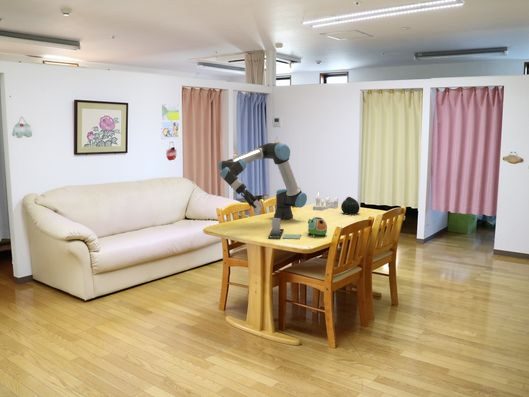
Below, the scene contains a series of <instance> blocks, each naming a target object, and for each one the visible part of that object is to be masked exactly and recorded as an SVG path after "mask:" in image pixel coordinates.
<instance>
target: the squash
mask: <svg viewBox="0 0 529 397" xmlns="http://www.w3.org/2000/svg"><path fill="white" fill-rule="evenodd" d="M340 209H341V211H342V213H343V214H345V215H357V214H359V212H360V203H359V202H358V201H357V200H356V199H355V198H353V197H351V196H347V197H346V198H345V199H344V200H343V201H342V202H341V205H340Z"/></svg>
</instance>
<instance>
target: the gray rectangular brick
mask: <svg viewBox="0 0 529 397" xmlns="http://www.w3.org/2000/svg"><path fill="white" fill-rule="evenodd" d="M271 221H272V222H271V230H272V234H280V232H281V231H280V229H281V219H280V218H274V217H272V220H271Z"/></svg>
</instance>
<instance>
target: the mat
mask: <svg viewBox="0 0 529 397" xmlns="http://www.w3.org/2000/svg"><path fill="white" fill-rule="evenodd" d="M301 236H302V235H301V234H293V233H292V234H290V233H289V234H288V233H285V234H284V233H283V237H282V239H283V240H300V239H301Z"/></svg>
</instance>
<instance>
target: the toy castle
mask: <svg viewBox="0 0 529 397" xmlns="http://www.w3.org/2000/svg"><path fill="white" fill-rule="evenodd" d="M324 203H325V206H324ZM338 208H339V196H337V197H336V196H335V197H334V199H333V201H332V200H331V196H329V197H328V196H326V199H325V202H324V199H323V198H321V195H320V192H319V191H318V192H317V194H316V197H315V205H313V206H312V211H322V212H323V211H325V210H329V209H338Z"/></svg>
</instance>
